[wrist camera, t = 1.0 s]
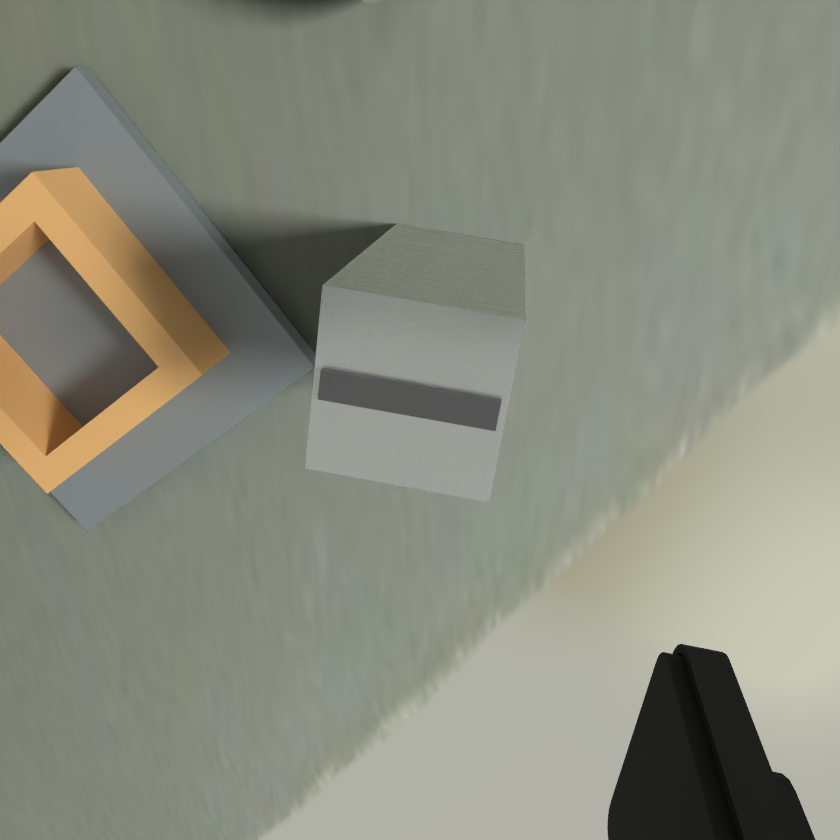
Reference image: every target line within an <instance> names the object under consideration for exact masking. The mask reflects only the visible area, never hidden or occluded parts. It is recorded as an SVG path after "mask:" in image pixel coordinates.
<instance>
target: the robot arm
mask: <svg viewBox="0 0 840 840" xmlns="http://www.w3.org/2000/svg"><path fill="white" fill-rule="evenodd" d="M608 839H609V840H815V838H814V835H813V833H812V831H811V828H810V826H809V823H808V821H807V818H806V816H805V813H804V811H803V808H802V806H801V804H800V801H799V799H798V796H797V794H796V791H795V789H794V788H793V786H792V784H791V782H790V780H789V779H788V778H787V777H785V776H784V775H783V774H781V773H776V772H772V770H771V767H770V765H769V762H768V760H767V757H766V754H765V752H764V749H763V747H762V744H761V741H760V739H759V736H758V733H757V731H756V728H755V725H754V723H753V720H752V718H751V715H750V712H749V710H748V707H747V705H746V702H745V699H744V697H743V694H742V692H741V689H740V686H739V684H738V681H737V678H736V676H735V673H734V671H733V668H732V666H731V663H730V660H729V658H728V656H727V655H726V654H725V653H723V652H719V651H714V650H709V649H704V648H698V647H693V646H689V645H683V644H680V645H678V646H677V647H676V648H675V650H674V652H673V654H670V653H665V652H663V653H661V654H660V655H659V656H658V659H657V662H656V664H655V668H654V670H653V674H652V677H651V680H650V683H649V686H648V689H647V692H646V695H645V698H644V701H643V704H642V708H641V711H640V714H639V717H638V720H637V723H636V726H635V729H634V732H633V735H632V738H631V741H630V744H629V748H628V751H627V754H626V757H625V760H624V763H623V766H622V769H621V772H620V775H619V778H618V781H617V785H616V788H615V791H614V794H613V797H612V800H611V804H610V808H609V814H608Z"/></svg>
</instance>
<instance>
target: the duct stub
mask: <svg viewBox="0 0 840 840" xmlns="http://www.w3.org/2000/svg"><path fill="white" fill-rule="evenodd" d="M525 320H526V317H525V257H524V244H518V243H512V242H506V241H499V240H493V239H487V238H481V237H475V236H469V235H463V234H457V233H450V232H444V231H438V230H432V229H426V228H420V227H414V226H408V225H402V224H396V225H394V226H393V227H392V228H391V229H390V230H388V231H387V232H386V233H385V234H384V235H382V236H381V237H380V238H379V239H378V240H376V241H375V242H374V243H373V244H371V245H370V246H369V247H368V248H367V249H365V250H364V251H363V252H362V253H361V254H359V255H358V256H357V257H356V258H355V259H353V260H352V261H351V262H350V263H349V264H347V265H346V266H345V267H344V268H343V269H341V270H340V271H339V272H338V273H337V274H335V275H334V276H333V277H332V278H331V279H329V280H328V281H327V282H326V283H325V284H323V285H322V295H321V306H320V316H319V327H318V337H317V348H316V358H315V369H314V380H313V390H312V401H311V411H310V422H309V432H308V443H307V454H306V464H305V468H307V469H312V470H318V471H323V472H328V473H334V474H339V475H345V476H350V477H356V478H361V479H366V480H372V481H377V482H383V483H388V484H393V485H399V486H404V487H410V488H415V489H421V490H426V491H431V492H437V493H442V494H448V495H453V496H458V497H464V498H469V499H475V500H480V501H485V502H489V501H490V496H491V491H492V486H493V481H494V476H495V471H496V466H497V461H498V456H499V451H500V446H501V441H502V436H503V430H504V425H505V420H506V415H507V410H508V405H509V400H510V395H511V390H512V385H513V380H514V375H515V370H516V365H517V360H518V355H519V350H520V345H521V340H522V335H523V330H524V325H525Z"/></svg>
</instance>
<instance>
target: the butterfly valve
mask: <svg viewBox="0 0 840 840" xmlns="http://www.w3.org/2000/svg"><path fill="white" fill-rule="evenodd" d="M362 1H363V2H365V3H370V4H371V3H375V2H379V1H381V0H362Z"/></svg>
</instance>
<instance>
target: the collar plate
mask: <svg viewBox="0 0 840 840" xmlns="http://www.w3.org/2000/svg"><path fill="white" fill-rule="evenodd" d="M315 358H316V354H315V353H314V351H313V350H312V349H311V348H310V346H309V345H308V344H307V342H306V341H305V340H304V339H303V337H302V336H301V335H300V334H299V332H298V331H297V330H296V329H295V327H294V326H293V325H292V324H291V322H290V321H289V320H288V318H287V317H286V316H285V315H284V313H283V312H282V311H281V310H280V308H279V307H278V306H277V305H276V303H275V302H274V301H273V300H272V298H271V297H270V296H269V294H268V293H267V292H266V291H265V289H264V288H263V287H262V286H261V284H260V283H259V282H258V281H257V279H256V278H255V277H254V275H253V274H252V273H251V272H250V270H249V269H248V268H247V267H246V265H245V264H244V263H243V262H242V260H241V259H240V258H239V257H238V255H237V254H236V253H235V251H234V250H233V249H232V248H231V246H230V245H229V244H228V243H227V241H226V240H225V239H224V238H223V236H222V235H221V234H220V232H219V231H218V230H217V229H216V227H215V226H214V225H213V224H212V222H211V221H210V220H209V219H208V217H207V216H206V215H205V214H204V212H203V211H202V210H201V208H200V207H199V206H198V205H197V203H196V202H195V201H194V200H193V198H192V197H191V196H190V195H189V193H188V192H187V191H186V190H185V188H184V187H183V186H182V184H181V183H180V182H179V181H178V179H177V178H176V177H175V176H174V174H173V173H172V172H171V171H170V169H169V168H168V167H167V165H166V164H165V163H164V162H163V160H162V159H161V158H160V157H159V155H158V154H157V153H156V152H155V150H154V149H153V148H152V147H151V145H150V144H149V143H148V141H147V140H146V139H145V138H144V136H143V135H142V134H141V133H140V131H139V130H138V129H137V128H136V126H135V125H134V124H133V122H132V121H131V120H130V119H129V117H128V116H127V115H126V114H125V112H124V111H123V110H122V109H121V107H120V106H119V105H118V104H117V102H116V101H115V100H114V98H113V97H112V96H111V95H110V93H109V92H108V91H107V90H106V88H105V87H104V86H103V85H102V83H101V82H100V81H99V79H98V78H97V77H96V76H95V74H94V73H93V72H92V71H91V69H90V68H83V67H75V68H74V69H73V70H72V71H71V72H70V73H69V74H68V75H67V76H66V77H65V78H64V79H63V80H62V81H61V82H60V83H59V84H58V85H57V86H56V87H55V88H54V89H53V90H52V91H51V92H50V93H49V94H48V95H47V96H46V97H45V98H44V99H43V100H42V101H41V102H40V103H39V104H38V105H37V106H36V107H35V108H34V109H33V110H32V111H31V112H30V113H29V114H28V115H27V116H26V117H25V118H24V119H23V120H22V121H21V122H20V123H19V124H18V125H17V126H16V127H15V128H14V129H13V130H12V131H11V132H10V133H9V135H8V136H7V137H6V138H5V139H4V140H3V141H2V142H1V143H0V444H1V445H2V446H3V447H4V448H5V449H6V450H7V451H8V452H9V453H10V455H11V456H12V457H13V458H14V459H15V460H16V461H17V462H18V463H19V464H20V465H21V466H22V467H23V468H24V470H25V471H26V472H27V473H28V474H29V475H30V476H31V477H32V478H33V479H34V480H35V481H36V482H37V483H38V484H39V486H40V487H41V488H42V489H43V490H44V491H45V492H46V493H47V494H48V493H49V492H51V494H52V495H53V496H54V497H55V498H56V499H57V500H58V501H59V502H60V503H61V504H62V505H63V506H64V507H65V508H66V510H67V511H68V512H69V513H70V514H71V515H72V516H73V517H74V518H75V519H76V520H77V521H78V522H79V523H80V525H81V526H82V527H83V528H84V529H85V530H86V531H87V532H88V531H89V530H91V529H92V528H93V527H95V526H96V525H98V524H99V523H100V522H102V521H103V520H104V519H106V518H107V517H109V516H110V515H111V514H113V513H114V512H115V511H117V510H118V509H120V508H121V507H122V506H124V505H125V504H127V503H128V502H129V501H131V500H132V499H133V498H135V497H136V496H138V495H139V494H140V493H142V492H143V491H144V490H146V489H147V488H149V487H150V486H151V485H153V484H154V483H155V482H157V481H158V480H160V479H161V478H162V477H164V476H165V475H167V474H168V473H169V472H171V471H172V470H173V469H175V468H176V467H178V466H179V465H180V464H182V463H183V462H184V461H186V460H187V459H189V458H190V457H191V456H193V455H194V454H196V453H197V452H198V451H200V450H201V449H202V448H204V447H205V446H207V445H208V444H209V443H211V442H212V441H213V440H215V439H216V438H218V437H219V436H220V435H222V434H223V433H225V432H226V431H227V430H229V429H230V428H231V427H233V426H234V425H236V424H237V423H238V422H240V421H241V420H242V419H244V418H245V417H247V416H248V415H249V414H251V413H252V412H254V411H255V410H256V409H258V408H259V407H260V406H262V405H263V404H265V403H266V402H267V401H269V400H270V399H271V398H273V397H274V396H276V395H277V394H278V393H280V392H281V391H283V390H284V389H285V388H287V387H288V386H289V385H291V384H292V383H294V382H295V381H296V380H298V379H299V378H300V377H302V376H303V375H305V374H306V373H307V372H309V371H310V370H312V369H313V368H314V367H315Z"/></svg>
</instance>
